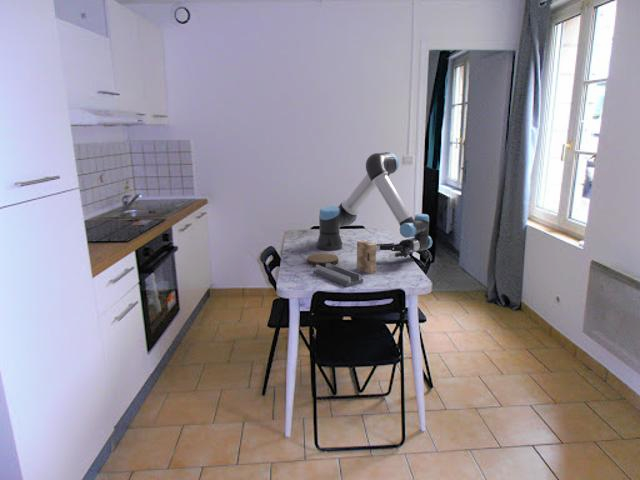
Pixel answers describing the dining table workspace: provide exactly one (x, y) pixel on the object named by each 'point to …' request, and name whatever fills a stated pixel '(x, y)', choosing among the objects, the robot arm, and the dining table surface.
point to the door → (366, 256)
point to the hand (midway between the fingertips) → (379, 253)
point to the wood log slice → (322, 259)
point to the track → (338, 275)
